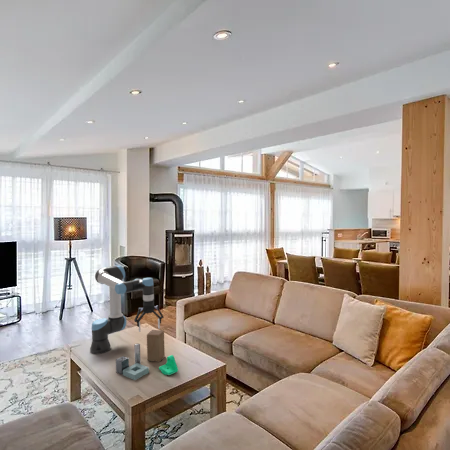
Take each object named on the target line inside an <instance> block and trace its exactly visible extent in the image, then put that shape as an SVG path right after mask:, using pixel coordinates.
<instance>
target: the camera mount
mask: <svg viewBox="0 0 450 450" xmlns="http://www.w3.org/2000/svg"><path fill="white" fill-rule="evenodd" d="M158 369H159V371H161V373H162V374H163V375H165V376H167V375H168V376H170V375H173V374H175V373H177V372H179V368H178V365H177V362H176V359H175V356H174V355H173V354H171V355H168V356H166V362H165V364H162V365H159V367H158Z"/></svg>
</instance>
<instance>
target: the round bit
mask: <svg viewBox="0 0 450 450" xmlns="http://www.w3.org/2000/svg"><path fill="white" fill-rule="evenodd" d="M141 361H142V360H141V344H140V343H135V344H134V364H136V363H139V364H141V363H142V362H141ZM141 365H142V364H141Z"/></svg>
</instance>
